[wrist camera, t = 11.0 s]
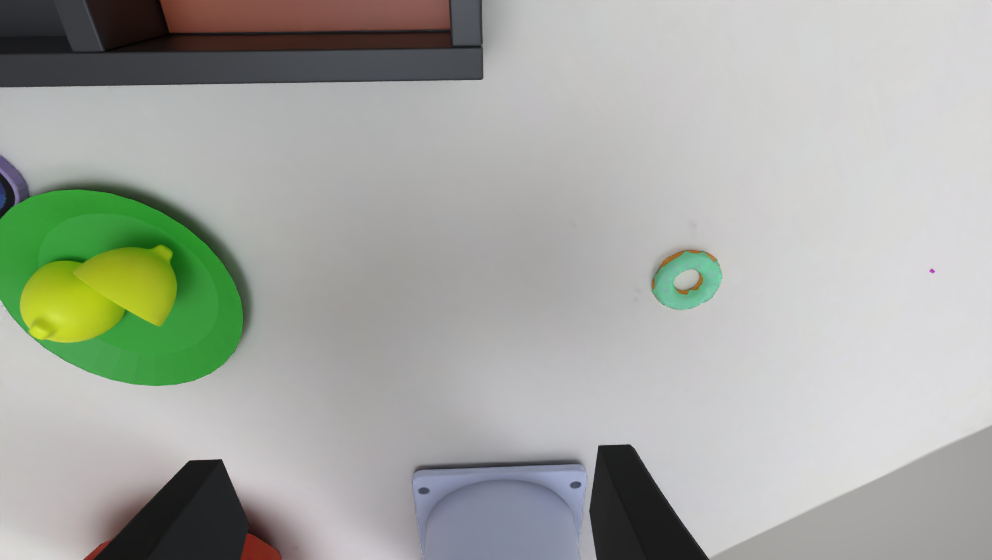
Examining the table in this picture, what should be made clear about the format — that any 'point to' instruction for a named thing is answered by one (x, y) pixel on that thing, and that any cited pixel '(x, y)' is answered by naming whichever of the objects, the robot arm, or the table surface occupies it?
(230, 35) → the tray
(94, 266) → the green plate
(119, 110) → the table surface
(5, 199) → the smartphone
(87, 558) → the apple
